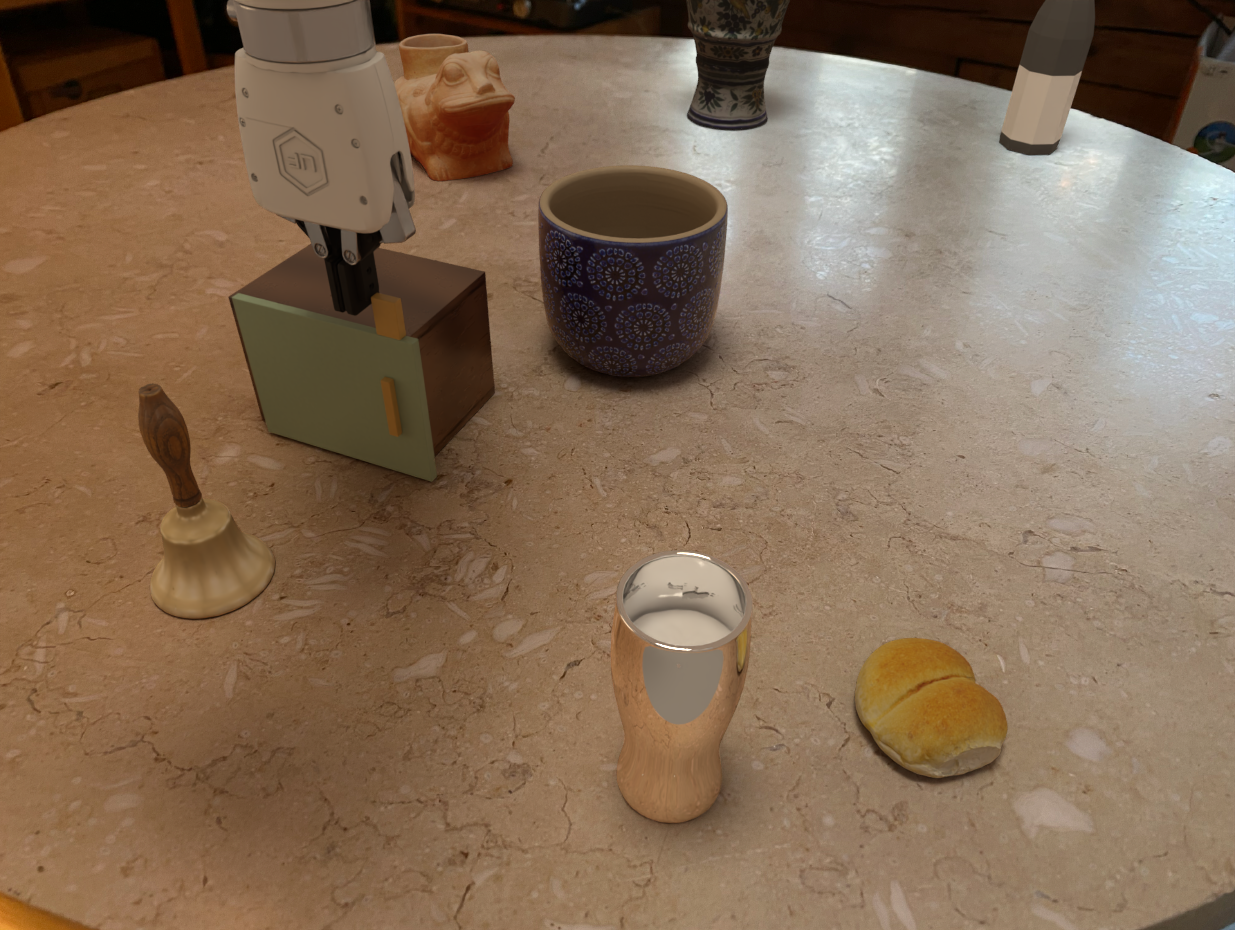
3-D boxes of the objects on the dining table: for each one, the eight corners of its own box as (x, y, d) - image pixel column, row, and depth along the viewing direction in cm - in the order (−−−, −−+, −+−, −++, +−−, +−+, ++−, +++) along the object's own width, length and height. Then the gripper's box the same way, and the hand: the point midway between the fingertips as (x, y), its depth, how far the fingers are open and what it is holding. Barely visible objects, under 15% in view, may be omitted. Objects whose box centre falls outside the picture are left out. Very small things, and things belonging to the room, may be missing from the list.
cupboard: (422, 470, 75) (403, 341, 68) (262, 421, 80) (227, 296, 73) (495, 392, 84) (485, 271, 77) (346, 353, 89) (323, 235, 81)
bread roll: (938, 647, 62) (953, 606, 59) (1021, 761, 55) (1042, 720, 53) (825, 675, 60) (836, 633, 57) (897, 796, 53) (912, 755, 51)
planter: (692, 411, 82) (705, 255, 73) (517, 377, 86) (507, 225, 77) (730, 320, 95) (746, 177, 85) (575, 294, 98) (573, 154, 89)
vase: (672, 96, 149) (683, -126, 130) (781, 101, 148) (808, -122, 129) (666, 132, 136) (677, -108, 117) (785, 138, 135) (816, -103, 116)
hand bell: (293, 539, 69) (241, 354, 59) (247, 624, 63) (181, 434, 53) (184, 530, 70) (115, 346, 59) (128, 614, 63) (40, 423, 53)
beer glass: (603, 729, 57) (604, 550, 47) (716, 720, 57) (740, 541, 48) (615, 837, 51) (619, 660, 42) (740, 825, 52) (772, 648, 42)
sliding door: (428, 486, 73) (402, 310, 64) (263, 435, 78) (215, 264, 68) (437, 476, 74) (413, 300, 64) (274, 426, 79) (228, 256, 69)
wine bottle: (998, 151, 132) (1066, -94, 113) (997, 132, 138) (1062, -103, 119) (1059, 159, 130) (1138, -89, 111) (1055, 139, 136) (1130, -99, 118)
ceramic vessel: (442, 198, 117) (428, 73, 107) (373, 132, 134) (356, 20, 125) (542, 178, 122) (537, 57, 113) (463, 117, 140) (453, 8, 130)
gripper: (160, 28, 54) (237, 307, 66) (379, 63, 50) (419, 354, 62) (247, -1, 60) (304, 262, 71) (451, 28, 55) (476, 302, 67)
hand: (357, 304), depth 66 cm, fingers closed
